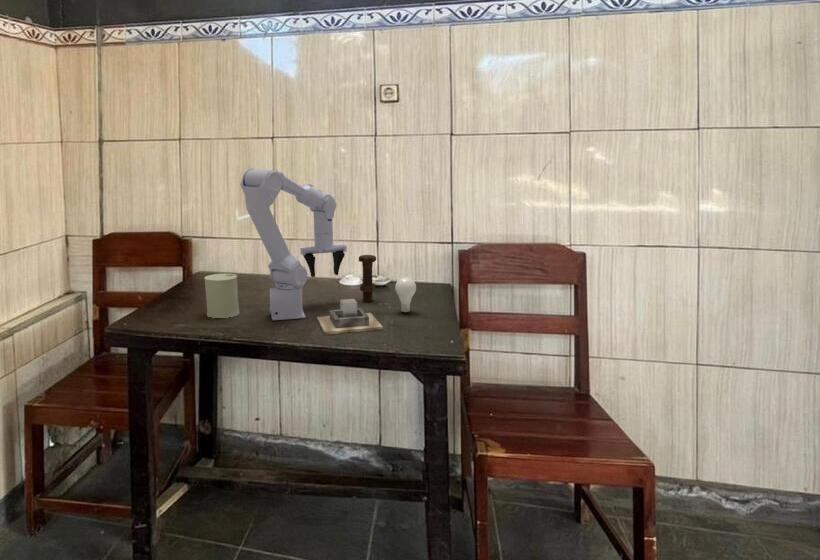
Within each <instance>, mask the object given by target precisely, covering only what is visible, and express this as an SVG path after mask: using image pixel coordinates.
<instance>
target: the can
mask: <svg viewBox="0 0 820 560" xmlns="http://www.w3.org/2000/svg"><path fill="white" fill-rule="evenodd" d="M204 285H205V286H204V287H205V298H206V316H207V318H209V317H212V318H211V319H214V318H225V319H230V318H229V317H231V318H233V317H234V316H235V317H237V316H239V315H240V307H239V293H238V275H237V274H235V273H234V274H233V273H214V274H209V275H205V276H204ZM238 314H239V315H238Z"/></svg>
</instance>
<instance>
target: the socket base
mask: <svg viewBox="0 0 820 560" xmlns="http://www.w3.org/2000/svg"><path fill="white" fill-rule="evenodd" d="M316 320H317V322H318V324H319V326H320V328H321V330H322V331H323V334H324V335H325V336H327V335H339V334H349V333H348V332H350V333H357V332H360V333H361V332H371V331H382V329H384V327H383V325H382V324H381V323H380V322H379V321H378V319H376V317H375V316H374V315H373V314H372V312H365V310H364V309H363V308H362V307H357V317H347V318H340V309H329V315H325V316H317V317H316Z"/></svg>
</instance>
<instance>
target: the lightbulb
mask: <svg viewBox="0 0 820 560" xmlns="http://www.w3.org/2000/svg"><path fill="white" fill-rule="evenodd" d="M394 286H395V287H394V289H395V292H396V294H397V295H398V297H399V301H400V305H401V306H400V308H401V309H400V311H401V312H403V313H405V314H406V313H408V312H410V311H411V310H410V309H411V301H412V298H413V296H414V295H415V293H416V291H417V284H416V283H415V281H414V279H412V278H411V277H406V276H405V277H400V278H399V279H398V280H397V282H396V283H395V285H394Z"/></svg>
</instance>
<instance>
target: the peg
mask: <svg viewBox="0 0 820 560" xmlns="http://www.w3.org/2000/svg"><path fill="white" fill-rule="evenodd" d="M339 302H340V303H339V305H340V306H339V310H340V318H347V317H357V308H358V301H356V299H355V298H349V299H348V298H347V299H343V298H342V299H339Z"/></svg>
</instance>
